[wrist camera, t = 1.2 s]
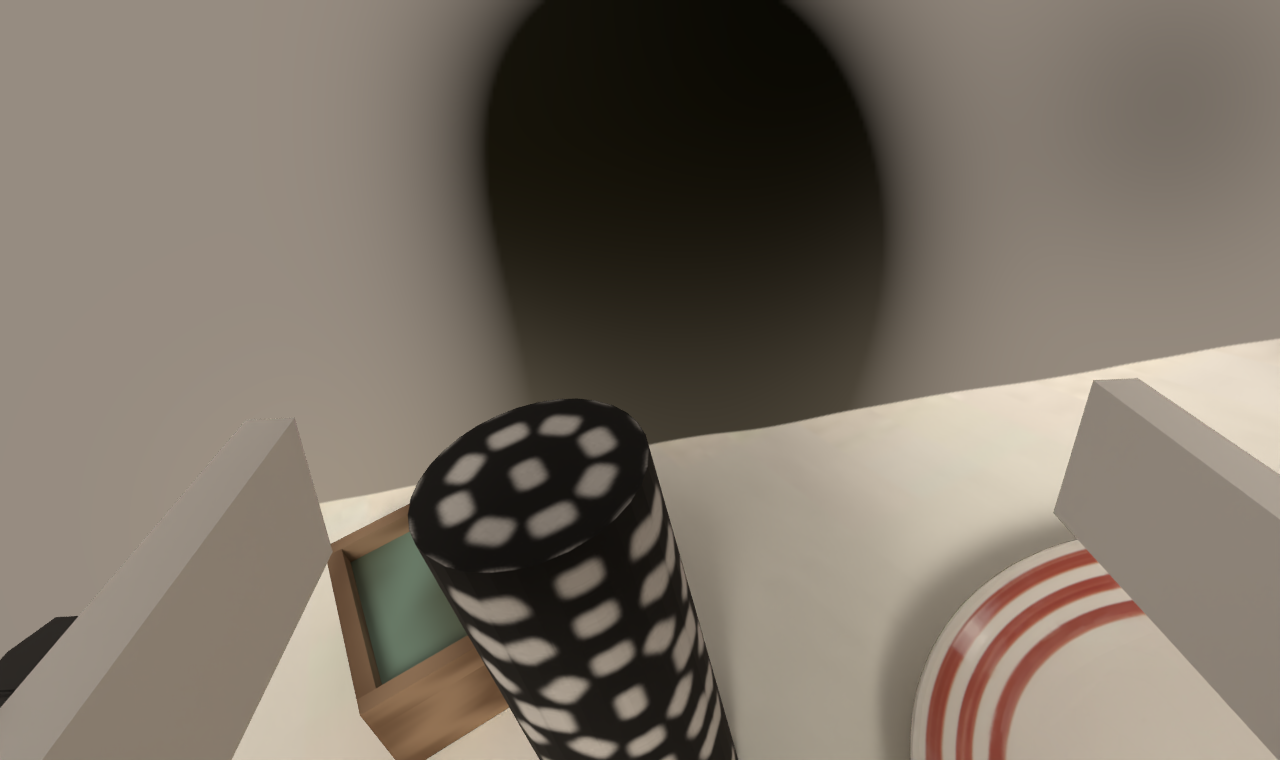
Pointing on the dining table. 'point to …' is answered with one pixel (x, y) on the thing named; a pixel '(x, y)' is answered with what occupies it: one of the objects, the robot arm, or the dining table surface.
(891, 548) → the dining table surface
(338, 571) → the square wooden tray
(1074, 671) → the dinner plate
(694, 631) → the white-spotted black cylinder
